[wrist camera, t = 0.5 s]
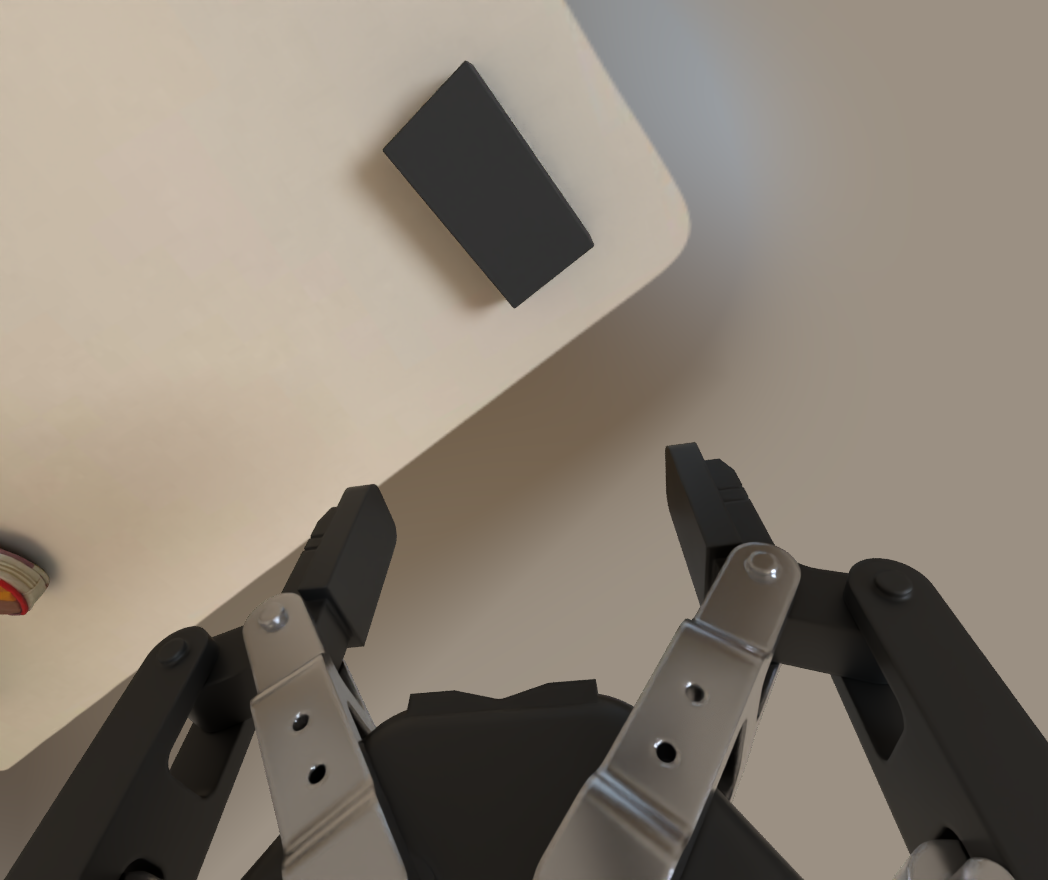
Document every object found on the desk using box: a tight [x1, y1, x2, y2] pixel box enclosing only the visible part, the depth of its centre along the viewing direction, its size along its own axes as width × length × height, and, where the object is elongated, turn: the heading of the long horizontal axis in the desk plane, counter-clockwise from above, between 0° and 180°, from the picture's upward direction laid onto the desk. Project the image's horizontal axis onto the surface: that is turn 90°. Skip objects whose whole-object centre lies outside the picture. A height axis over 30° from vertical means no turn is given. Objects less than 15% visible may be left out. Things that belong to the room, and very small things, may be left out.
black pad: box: [383, 61, 594, 308], centre depth 26 cm, size 10×6×2 cm, turn 39°
